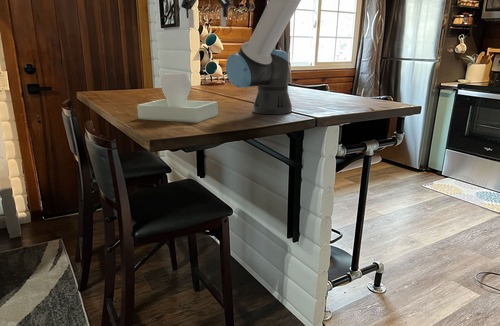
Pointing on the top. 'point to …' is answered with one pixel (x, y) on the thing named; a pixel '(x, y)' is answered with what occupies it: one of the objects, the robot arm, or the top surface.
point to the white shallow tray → (178, 111)
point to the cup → (176, 88)
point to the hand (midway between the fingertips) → (207, 27)
